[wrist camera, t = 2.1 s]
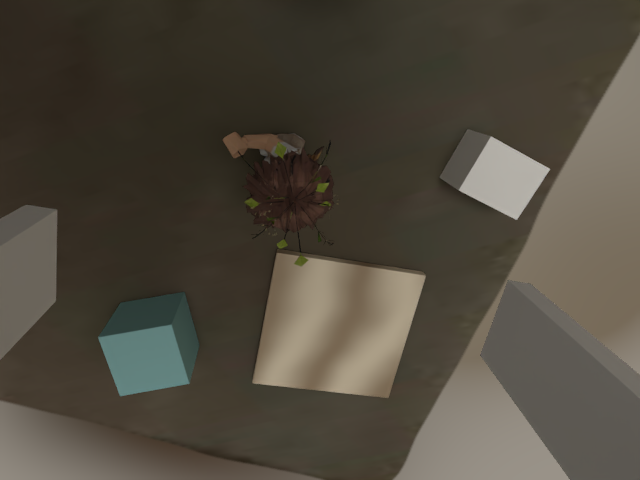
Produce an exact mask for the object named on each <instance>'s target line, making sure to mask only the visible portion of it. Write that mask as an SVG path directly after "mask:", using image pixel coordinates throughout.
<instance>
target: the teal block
mask: <svg viewBox="0 0 640 480" xmlns="http://www.w3.org/2000/svg"><path fill="white" fill-rule="evenodd" d="M98 338H99V341H100V344H101V346H102V349H103V352H104V354H105V357H106V360H107V362H108V365H109V368H110V370H111V373H112V376H113V378H114V381H115V384H116V386H117V389H118V392H119V394H120V396H124V395H129V394H135V393H140V392H146V391H152V390H157V389H163V388H168V387H174V386H179V385H185V384H189V383H190V379H191V376H192V372H193V368H194V364H195V360H196V357H197V353H198V349H199V342H198V338H197V335H196V331H195V328H194V324H193V321H192V317H191V313H190V310H189V306H188V303H187V299H186V296H185V292H181V293H175V294H169V295H163V296H157V297H152V298H146V299H140V300H134V301H128V302H122V303H120V304H119V306H118V308H117V309H116V311H115V312H114V314H113V315H112V317H111V318H110V320H109V321H108V323H107V325H106V326H105V328H104V329H103V331H102V332H101V334H100V335H99V337H98Z"/></svg>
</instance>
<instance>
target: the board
mask: <svg viewBox="0 0 640 480" xmlns="http://www.w3.org/2000/svg"><path fill="white" fill-rule="evenodd" d="M301 255H302V256H304V257H305V258H306V259H308V261H307V262H306V263H305V264H304V265H303V266H298V265H295V264H294V263H295V261H296V260H297V259H298V257H299V256H300V252H294V251H288V250H281V249H277V251H276V256H275V261H274V267H273V272H272V278H271V283H270V288H269V294H268V299H267V304H266V310H265V315H264V320H263V326H262V331H261V337H260V342H259V347H258V353H257V358H256V363H255V369H254V374H253V383H255V384H264V385H274V386H283V387H292V388H301V389H311V390H320V391H329V392H338V393H347V394H357V395H366V396H375V397H384V398H388V397H389V394H390V391H391V388H392V384H393V381H394V378H395V375H396V371H397V368H398V365H399V362H400V358H401V355H402V352H403V349H404V345H405V342H406V339H407V336H408V332H409V329H410V326H411V323H412V319H413V316H414V313H415V310H416V306H417V303H418V300H419V297H420V293H421V290H422V287H423V284H424V281H425V277H426V275H425V274H424V272H423V271H416V270H410V269H403V268H397V267H390V266H384V265H378V264H371V263H365V262H358V261H352V260H346V259H339V258H333V257H326V256H320V255H314V254H307V253H301Z"/></svg>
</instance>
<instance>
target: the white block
mask: <svg viewBox="0 0 640 480" xmlns="http://www.w3.org/2000/svg"><path fill="white" fill-rule="evenodd" d="M549 170H550V169H549V168H547V167H545V166H543V165H542V164H540V163H538V162H536V161H534V160H533V159H531V158H529V157H527V156H525V155H524V154H522V153H520V152H518V151H516V150H515V149H513V148H511V147H509V146H507V145H506V144H504V143H502V142H500V141H498V140H497V139H495V138H493V137H491V136H488V135H485V134H482V133H479V132H475V131H472V130H469V129H467V131H466V132H465V134H464V136H463V138H462V139H461V141H460V143H459V144H458V146H457V148H456V150H455V151H454V153H453V155H452V156H451V158H450V160H449V162H448V163H447V165H446V167H445V168H444V170H443V172H442V174H441V175H440V177H439V178H441V179H442V180H444V181H445V182H447V183H448V184H450V185H451V186H453V187H454V188H456V189H457V190H459V191H461V192H463V193H465V194H467V195H469V196H471V197H473V198H475V199H476V200H478V201H480V202H482V203H484V204H486V205H488V206H490V207H492V208H494V209H496V210H498V211H500V212H502V213H504V214H506V215H508V216H510V217H512V218H514V219H516V220H517V219H518V217H519V216H520V214H521V213H522V211H523V210H524V208H525V207H526V205H527V204H528V202H529V201H530V199H531V197H532V196H533V194H534V193H535V191H536V190H537V188H538V187H539V185H540V184H541V182H542V181H543V179H544V178H545V176H546V175H547V173H548V172H549Z"/></svg>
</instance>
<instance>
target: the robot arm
mask: <svg viewBox="0 0 640 480" xmlns="http://www.w3.org/2000/svg"><path fill="white" fill-rule="evenodd" d="M56 261H57V209H51V208H44V207H38V206H32V205H25V206H23V207H21V208H19V209H17V210H15V211H14V212H12V213H10V214H8V215H6V216H4V217H3V218H1V219H0V360H1V359H2V358H3V356H4V355H5V354H6V353H7V352H8V351H9V350H10V349H11V348H12V347H13V346H14V345H15V344H16V343H17V342H18V341H19V340H20V339H21V337H22V336H23V335H24V334H25V333H26V332H27V331H28V330H29V329H30V328H31V327H32V326H33V325H34V324H35V323H36V322H37V321H38V319H39V318H40V317H41V316H42V315H43V314H44V313H45V312H46V311H47V310H48V309H49V308H50V307H51V306H52V305H53V304H54V303H55V302H56ZM480 356H481V357H482V358H483V360H484V361H485V362H486V364H487V365H488V367H489V368H490V369H491V371H492V372H493V374H494V375H495V376H496V378H497V379H498V380H499V382H500V383H501V384H502V386H503V387H504V389H505V390H506V392H507V393H508V394H509V396H510V397H511V398H512V400H513V401H514V403H515V404H516V405H517V407H518V408H519V410H520V411H521V412H522V413H523V415H524V416H525V418H526V419H527V421H528V422H529V423H530V425H531V426H532V428H533V429H534V430H535V432H536V433H537V434H538V436H539V437H540V438H541V440H542V441H543V443H544V444H545V446H546V447H547V448H548V450H549V451H550V452H551V454H552V455H553V457H554V458H555V459H556V460H557V462H558V464H559V465H560V466H561V468H562V469H563V470H564V472H565V473H566V475H567V476H568V477H569V479H570V480H640V375H639V374H638V373H637V372H636V371H634V370H633V369H632V368H631V367H630V366H629V365H627V364H626V363H625V362H624V361H623V360H621V359H620V358H619V357H618V356H617V355H615V354H614V353H613V352H612V351H611V350H609V349H608V348H607V347H605V345H603V344H602V343H601V342H600V341H599V340H597V339H596V338H595V337H594V336H592V335H591V334H590V333H589V332H588V331H587V330H585V329H584V328H583V327H582V326H580V325H579V324H578V323H577V322H576V321H575V320H573V319H572V318H571V317H570V316H569V315H567V314H566V313H565V312H564V311H562V310H561V309H560V308H559V307H558V306H557V305H555V304H554V303H553V302H552V301H551V300H549V299H548V298H547V297H546V296H545V295H543V294H542V293H541V292H540V291H539V290H537V289H536V288H535V287H534V286H533V285H531V284H529V283H523V282H516V281H510V280H508V282H507V284H506V287H505V290H504V293H503V295H502V298H501V301H500V303H499V306H498V309H497V311H496V314H495V317H494V320H493V322H492V325H491V328H490V330H489V333H488V336H487V338H486V341H485V344H484V346H483V349H482V352H481V355H480Z"/></svg>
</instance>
